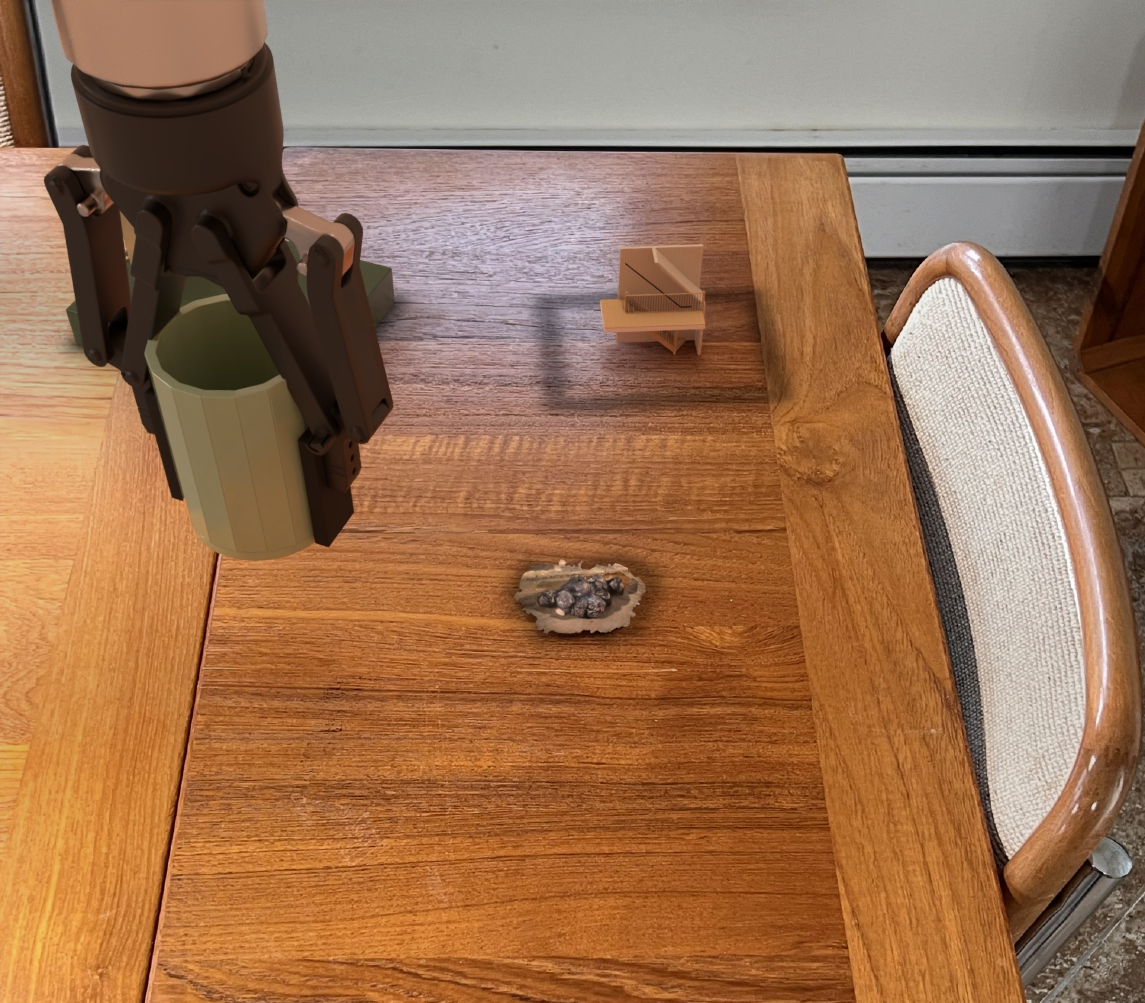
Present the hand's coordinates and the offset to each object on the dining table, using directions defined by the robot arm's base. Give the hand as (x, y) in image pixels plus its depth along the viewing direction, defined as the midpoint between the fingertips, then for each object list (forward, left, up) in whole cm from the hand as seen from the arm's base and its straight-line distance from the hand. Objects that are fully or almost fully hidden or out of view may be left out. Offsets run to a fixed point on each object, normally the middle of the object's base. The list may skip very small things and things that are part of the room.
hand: (262, 504), depth 71 cm
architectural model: (+9, +35, -12) cm, 38 cm away
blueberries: (+13, +11, -12) cm, 21 cm away
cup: (0, 0, 0) cm, 0 cm away
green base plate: (-19, +26, -12) cm, 34 cm away
